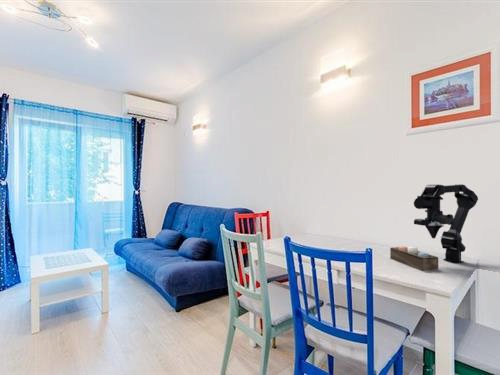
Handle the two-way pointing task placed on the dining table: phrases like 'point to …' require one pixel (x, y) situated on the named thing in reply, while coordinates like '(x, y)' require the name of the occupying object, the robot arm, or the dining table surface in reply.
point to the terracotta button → (402, 248)
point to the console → (414, 259)
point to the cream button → (412, 250)
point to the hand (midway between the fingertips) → (433, 238)
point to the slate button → (423, 254)
